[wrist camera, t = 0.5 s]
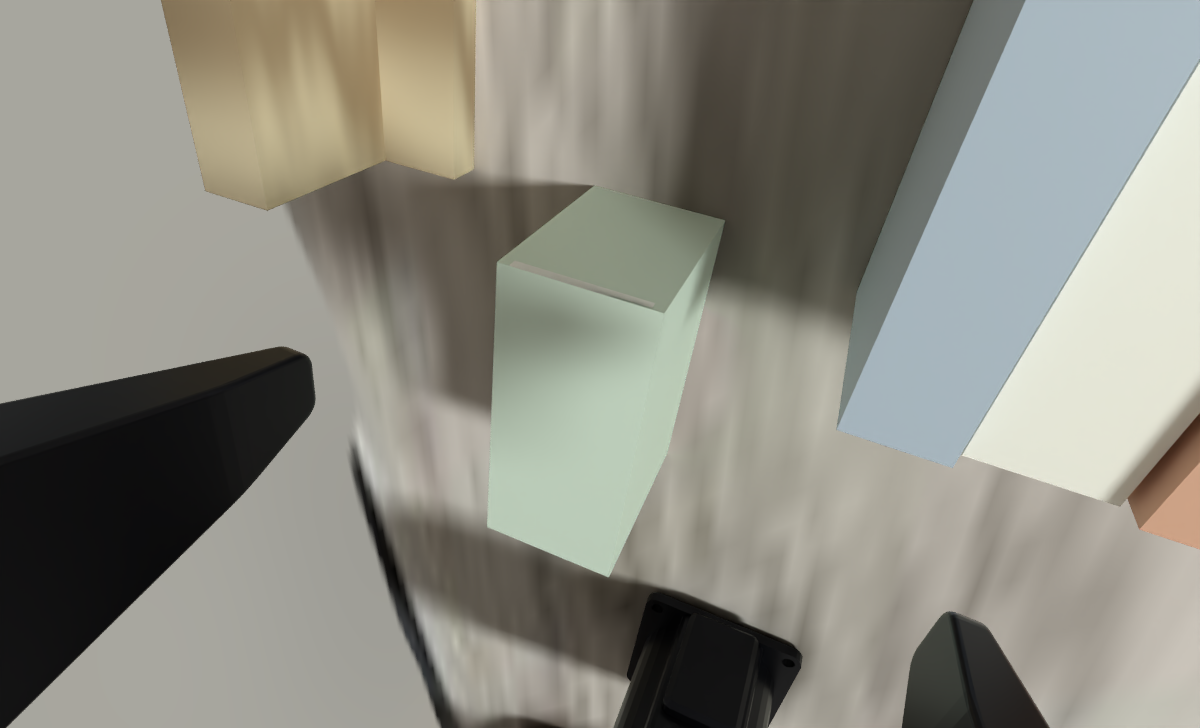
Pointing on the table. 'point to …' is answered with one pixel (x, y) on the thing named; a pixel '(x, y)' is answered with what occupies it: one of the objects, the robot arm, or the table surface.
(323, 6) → the bookend
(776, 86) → the table surface
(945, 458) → the book row
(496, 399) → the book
